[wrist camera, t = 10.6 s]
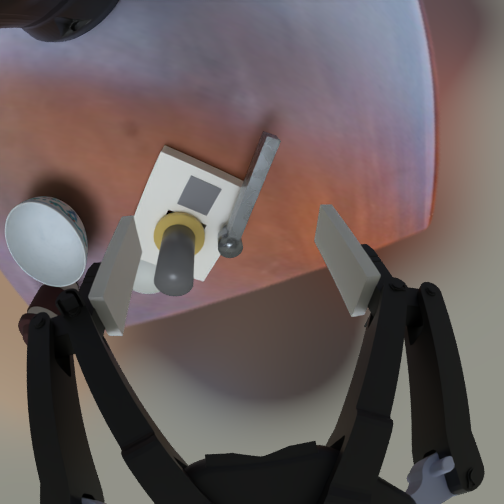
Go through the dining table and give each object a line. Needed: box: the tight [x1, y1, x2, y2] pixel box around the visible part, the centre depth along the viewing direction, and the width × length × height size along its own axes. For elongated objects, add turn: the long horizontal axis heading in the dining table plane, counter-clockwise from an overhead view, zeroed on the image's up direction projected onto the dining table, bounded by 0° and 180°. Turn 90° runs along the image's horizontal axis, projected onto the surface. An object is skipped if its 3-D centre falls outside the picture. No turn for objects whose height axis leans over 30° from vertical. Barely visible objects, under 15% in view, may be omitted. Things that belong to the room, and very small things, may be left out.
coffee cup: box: [18, 282, 79, 344], centre depth 39 cm, size 10×10×15 cm
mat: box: [133, 259, 160, 294], centre depth 46 cm, size 9×9×1 cm
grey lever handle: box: [217, 131, 281, 258], centre depth 33 cm, size 17×3×2 cm, turn 160°
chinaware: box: [5, 196, 88, 287], centre depth 34 cm, size 15×15×8 cm
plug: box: [154, 211, 205, 296], centre depth 36 cm, size 7×7×13 cm
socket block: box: [134, 145, 244, 281], centre depth 39 cm, size 17×14×4 cm
